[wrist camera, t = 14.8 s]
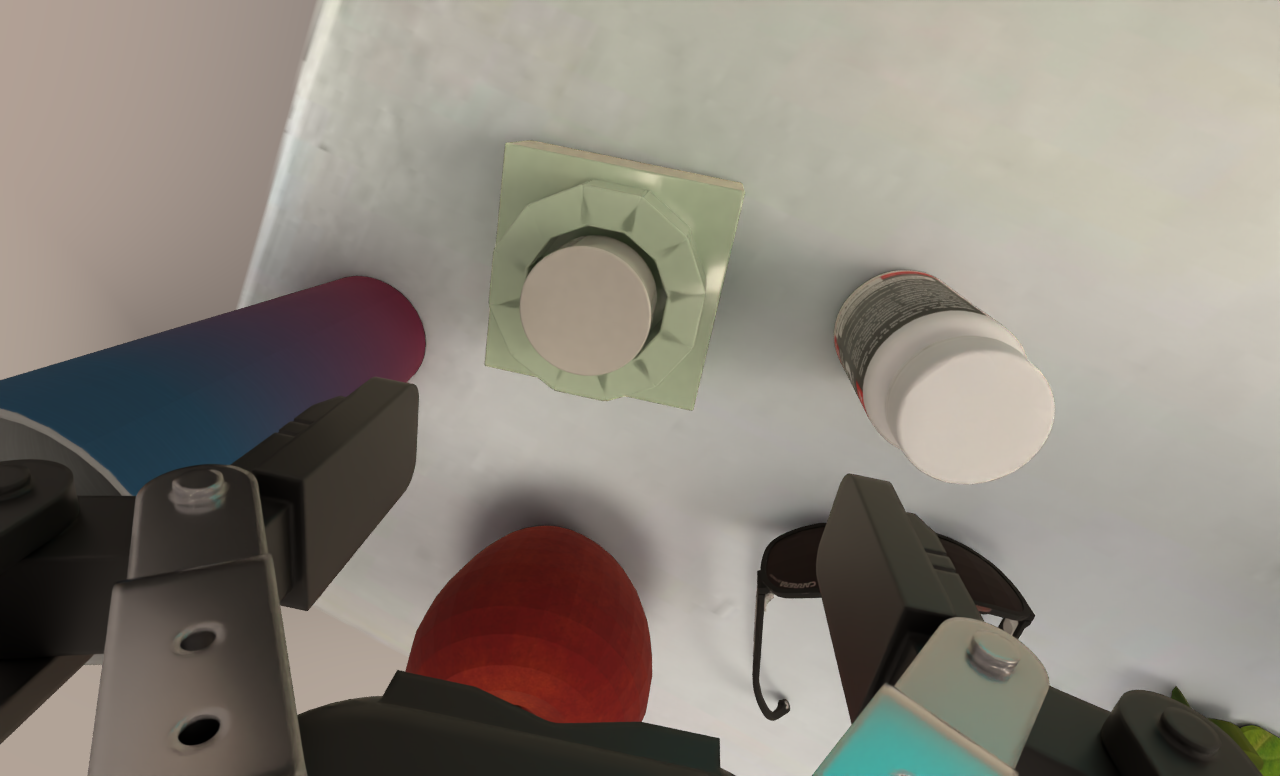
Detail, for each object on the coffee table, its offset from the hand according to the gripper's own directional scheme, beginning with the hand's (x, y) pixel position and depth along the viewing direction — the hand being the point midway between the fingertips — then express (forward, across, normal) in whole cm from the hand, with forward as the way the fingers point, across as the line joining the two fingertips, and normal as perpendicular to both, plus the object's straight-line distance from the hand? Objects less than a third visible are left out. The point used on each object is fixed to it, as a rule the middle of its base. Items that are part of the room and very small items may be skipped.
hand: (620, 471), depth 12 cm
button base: (+15, +2, 0) cm, 15 cm away
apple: (+15, +2, +15) cm, 21 cm away
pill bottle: (+14, -9, 0) cm, 17 cm away
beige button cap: (+10, +2, 0) cm, 10 cm away
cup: (+15, +12, +5) cm, 20 cm away
